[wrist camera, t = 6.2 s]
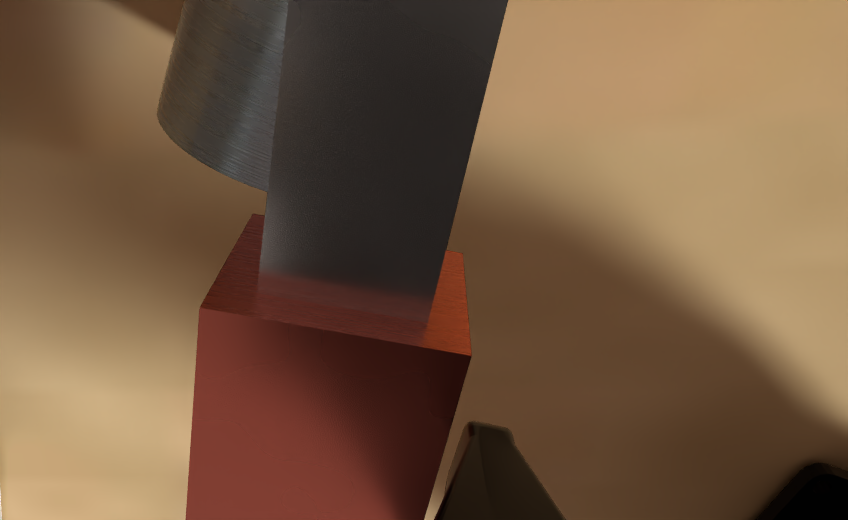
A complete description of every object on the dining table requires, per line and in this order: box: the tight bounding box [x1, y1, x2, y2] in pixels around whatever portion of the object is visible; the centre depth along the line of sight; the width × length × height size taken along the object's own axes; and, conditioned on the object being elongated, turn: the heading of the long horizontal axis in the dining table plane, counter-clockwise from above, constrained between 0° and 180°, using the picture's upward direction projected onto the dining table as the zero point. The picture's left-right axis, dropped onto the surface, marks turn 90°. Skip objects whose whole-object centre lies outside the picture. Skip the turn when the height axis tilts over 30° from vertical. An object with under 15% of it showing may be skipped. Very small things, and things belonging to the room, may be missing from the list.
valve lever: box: [186, 0, 508, 520], centre depth 6 cm, size 15×3×2 cm, turn 168°
